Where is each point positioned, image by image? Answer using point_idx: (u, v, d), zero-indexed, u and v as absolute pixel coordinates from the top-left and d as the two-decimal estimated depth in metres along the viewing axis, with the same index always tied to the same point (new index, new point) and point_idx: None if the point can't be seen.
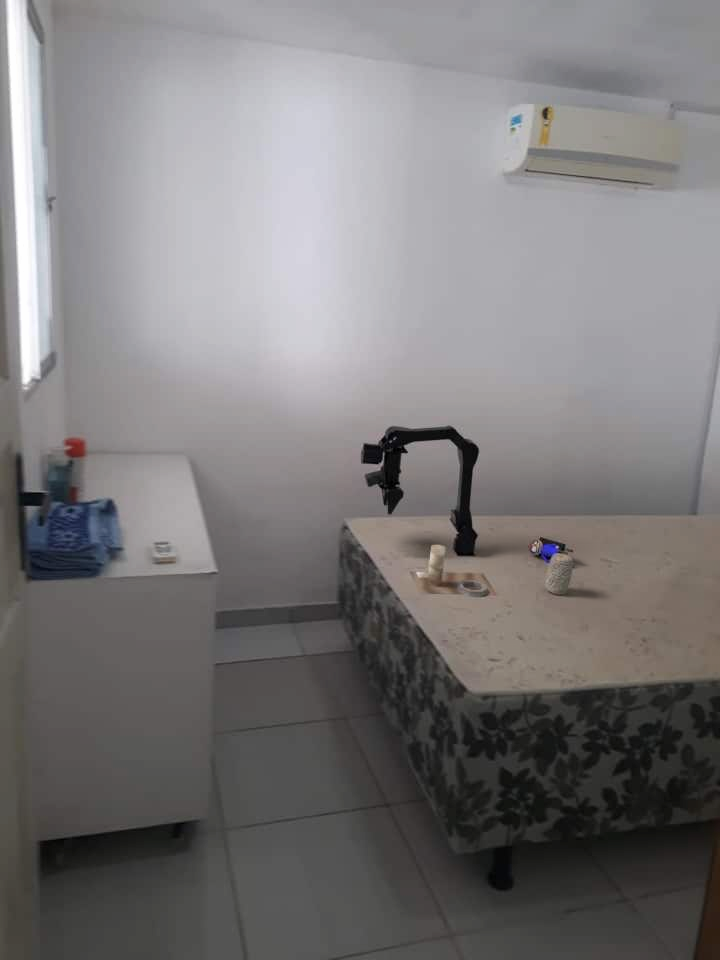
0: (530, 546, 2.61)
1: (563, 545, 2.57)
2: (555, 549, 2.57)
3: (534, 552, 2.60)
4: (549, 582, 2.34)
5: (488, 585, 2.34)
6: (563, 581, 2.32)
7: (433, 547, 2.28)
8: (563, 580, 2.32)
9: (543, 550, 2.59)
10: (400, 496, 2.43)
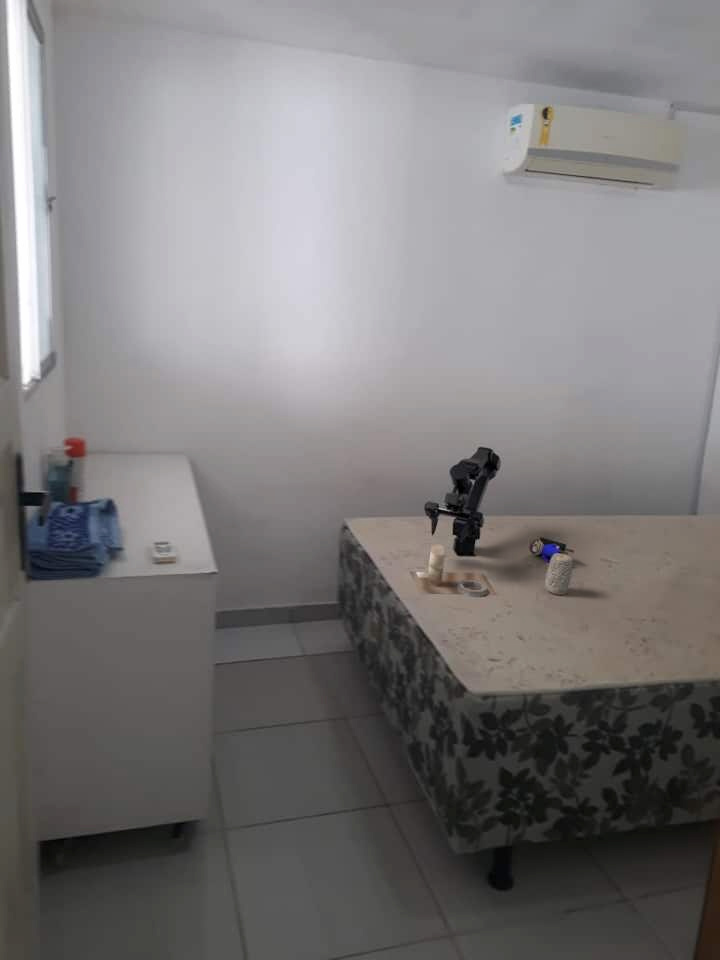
0: (530, 546, 2.61)
1: (563, 545, 2.57)
2: (555, 549, 2.57)
3: (534, 552, 2.60)
4: (549, 582, 2.34)
5: (488, 585, 2.34)
6: (563, 581, 2.32)
7: (433, 547, 2.28)
8: (563, 580, 2.32)
9: (543, 550, 2.59)
10: (482, 525, 2.37)
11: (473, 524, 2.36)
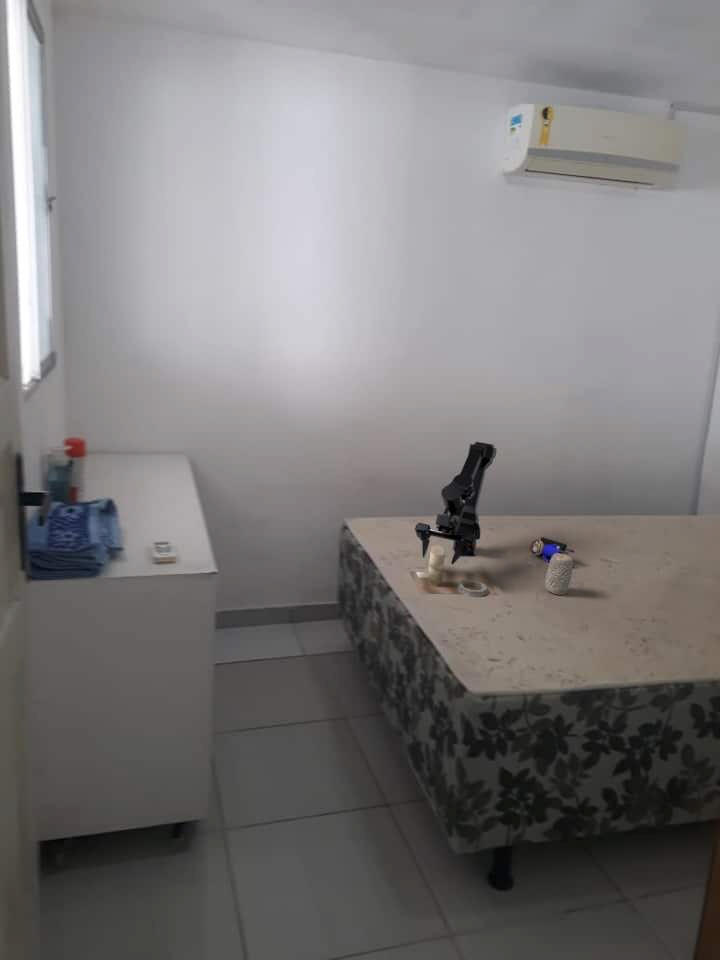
0: (531, 546, 2.61)
1: (564, 545, 2.57)
2: (556, 549, 2.57)
3: (535, 552, 2.60)
4: (549, 582, 2.34)
5: (488, 585, 2.34)
6: (563, 581, 2.32)
7: (433, 547, 2.28)
8: (563, 580, 2.32)
9: (544, 550, 2.59)
10: (474, 547, 2.32)
11: (465, 546, 2.30)
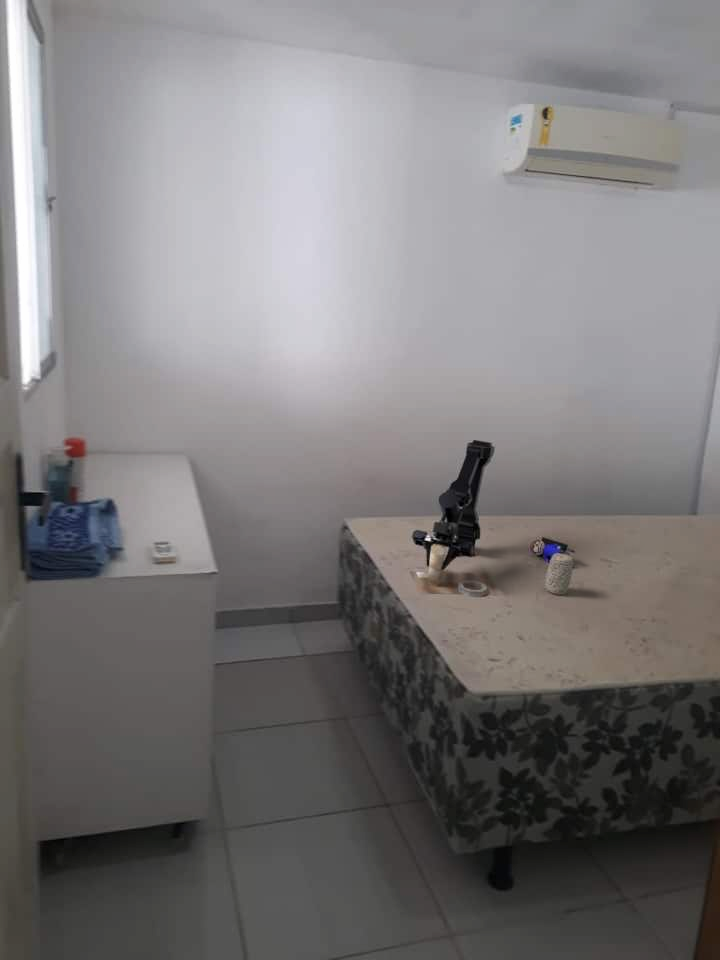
0: (532, 546, 2.61)
1: (565, 545, 2.57)
2: (557, 549, 2.57)
3: (536, 552, 2.60)
4: (549, 582, 2.34)
5: (488, 585, 2.34)
6: (563, 581, 2.32)
7: (433, 547, 2.28)
8: (563, 580, 2.32)
9: (545, 550, 2.59)
10: (472, 554, 2.30)
11: (455, 552, 2.30)
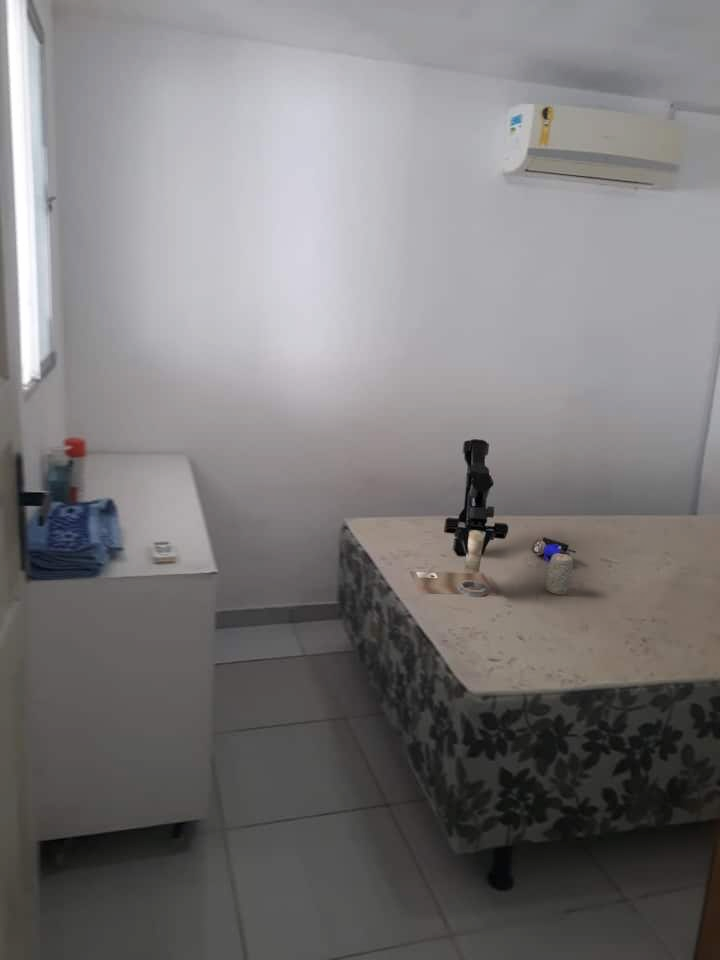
0: (533, 546, 2.61)
1: (566, 546, 2.57)
2: (557, 549, 2.57)
3: (536, 552, 2.60)
4: (549, 582, 2.34)
5: (488, 585, 2.34)
6: (563, 581, 2.32)
7: (472, 533, 2.23)
8: (563, 580, 2.32)
9: (545, 550, 2.59)
10: (505, 536, 2.29)
11: (491, 535, 2.27)
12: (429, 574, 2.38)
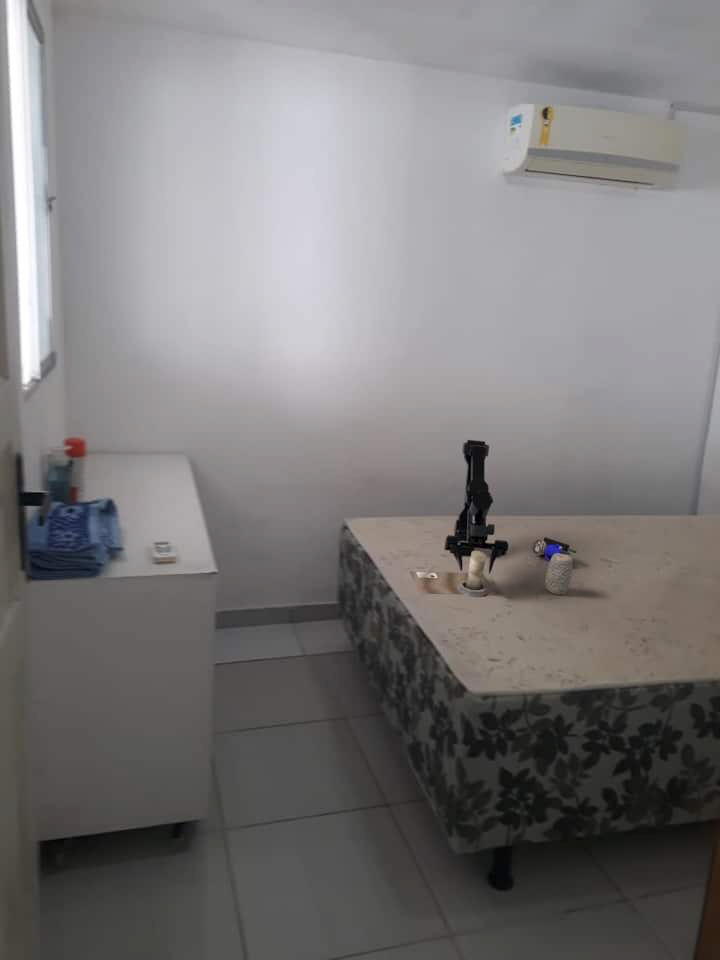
0: (533, 546, 2.61)
1: (566, 546, 2.57)
2: (558, 549, 2.57)
3: (537, 552, 2.60)
4: (549, 582, 2.34)
5: (488, 585, 2.34)
6: (563, 581, 2.32)
7: (474, 554, 2.25)
8: (563, 580, 2.32)
9: (546, 550, 2.59)
10: None
11: (497, 553, 2.29)
12: (429, 574, 2.38)
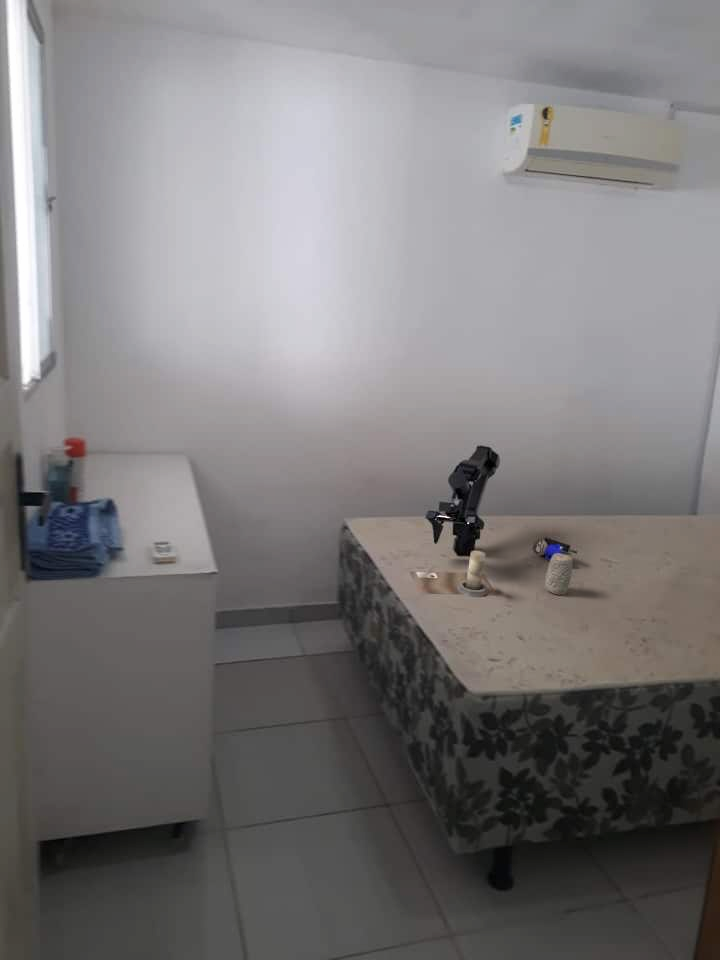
0: (534, 546, 2.61)
1: (567, 546, 2.57)
2: (559, 550, 2.57)
3: (538, 552, 2.60)
4: (549, 582, 2.34)
5: (488, 585, 2.34)
6: (563, 581, 2.32)
7: (474, 554, 2.25)
8: (563, 580, 2.32)
9: (547, 550, 2.59)
10: (482, 527, 2.36)
11: (472, 528, 2.36)
12: (429, 574, 2.38)
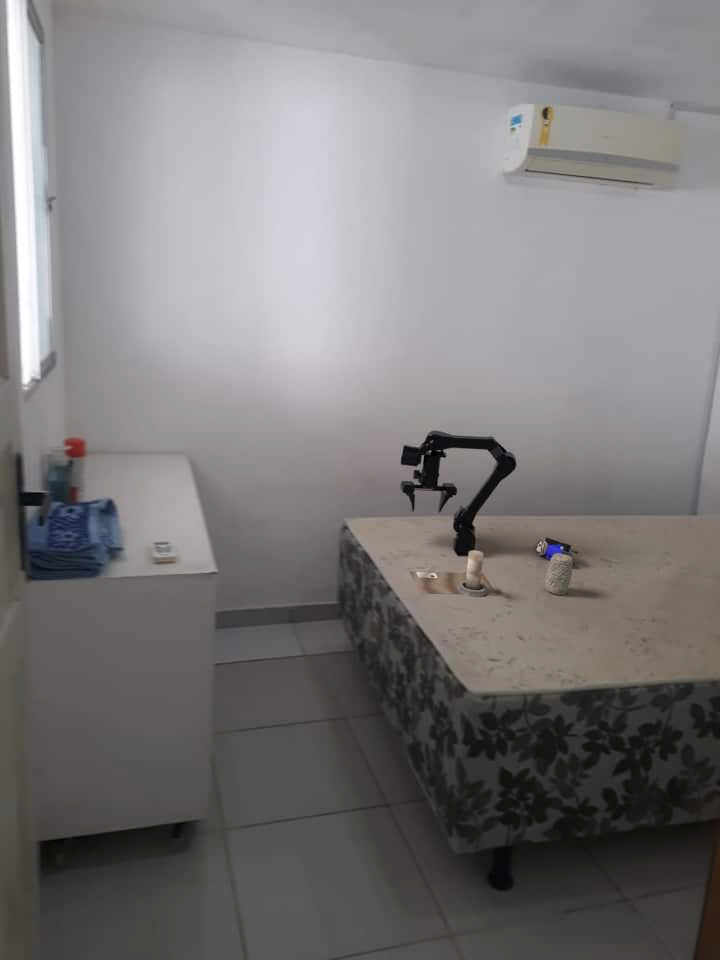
0: (535, 546, 2.61)
1: (568, 546, 2.57)
2: (560, 550, 2.57)
3: (539, 552, 2.60)
4: (549, 582, 2.34)
5: (488, 585, 2.34)
6: (563, 581, 2.32)
7: (472, 554, 2.25)
8: (563, 580, 2.32)
9: (548, 550, 2.59)
10: (402, 490, 2.54)
11: None
12: (429, 574, 2.38)
